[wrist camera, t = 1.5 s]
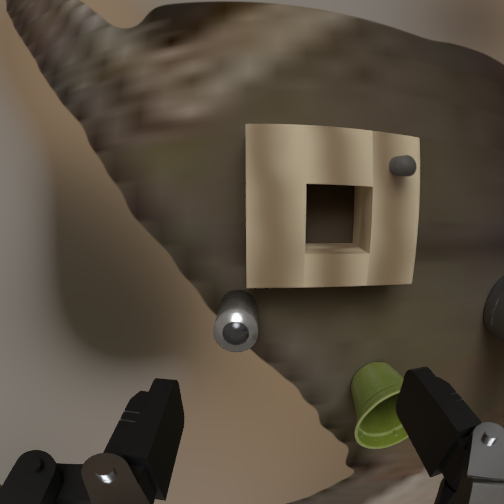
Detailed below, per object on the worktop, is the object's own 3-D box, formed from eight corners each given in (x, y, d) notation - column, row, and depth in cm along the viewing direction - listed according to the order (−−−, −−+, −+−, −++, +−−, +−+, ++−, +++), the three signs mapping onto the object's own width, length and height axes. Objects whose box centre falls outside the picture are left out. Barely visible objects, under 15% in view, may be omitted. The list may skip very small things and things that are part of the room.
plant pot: (323, 381, 35) (339, 428, 26) (384, 335, 33) (415, 374, 25) (358, 415, 36) (376, 458, 28) (412, 375, 35) (440, 413, 26)
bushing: (257, 289, 32) (258, 313, 26) (257, 323, 33) (258, 352, 27) (219, 289, 32) (212, 313, 26) (220, 323, 33) (214, 352, 27)
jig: (396, 143, 28) (430, 135, 21) (391, 269, 31) (421, 290, 24) (246, 133, 28) (245, 118, 21) (247, 271, 31) (246, 296, 24)
